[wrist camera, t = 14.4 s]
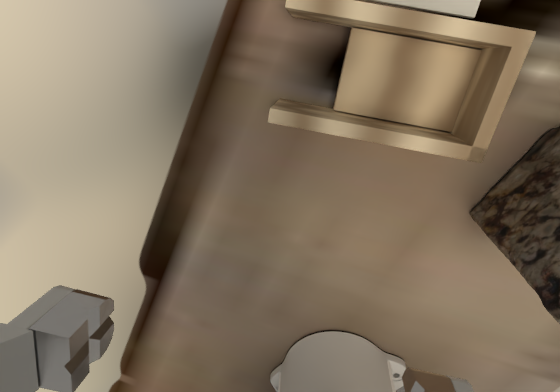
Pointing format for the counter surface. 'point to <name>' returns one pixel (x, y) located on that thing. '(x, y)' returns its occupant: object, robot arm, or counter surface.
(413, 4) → the mat
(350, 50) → the channel
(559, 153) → the stone block
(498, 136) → the counter surface
